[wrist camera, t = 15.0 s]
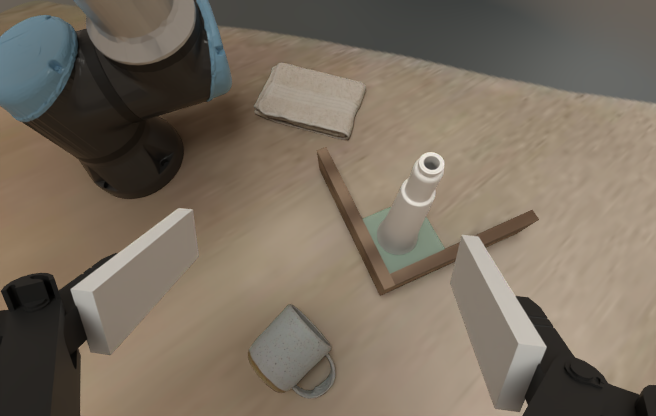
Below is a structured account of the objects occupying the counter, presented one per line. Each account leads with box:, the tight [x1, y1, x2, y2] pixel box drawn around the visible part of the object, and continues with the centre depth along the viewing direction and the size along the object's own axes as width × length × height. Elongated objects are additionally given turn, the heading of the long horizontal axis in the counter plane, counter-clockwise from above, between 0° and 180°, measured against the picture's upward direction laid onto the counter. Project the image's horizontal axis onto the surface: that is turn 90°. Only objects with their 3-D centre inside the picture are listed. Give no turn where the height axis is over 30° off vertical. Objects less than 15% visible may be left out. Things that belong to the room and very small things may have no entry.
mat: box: [363, 207, 445, 274], centre depth 50 cm, size 10×10×1 cm
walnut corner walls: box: [317, 147, 539, 296], centre depth 49 cm, size 22×22×6 cm
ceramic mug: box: [248, 304, 335, 398], centre depth 41 cm, size 11×8×8 cm
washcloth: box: [254, 63, 366, 140], centre depth 59 cm, size 12×18×3 cm, turn 72°
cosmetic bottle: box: [377, 152, 444, 255], centre depth 40 cm, size 6×6×22 cm
